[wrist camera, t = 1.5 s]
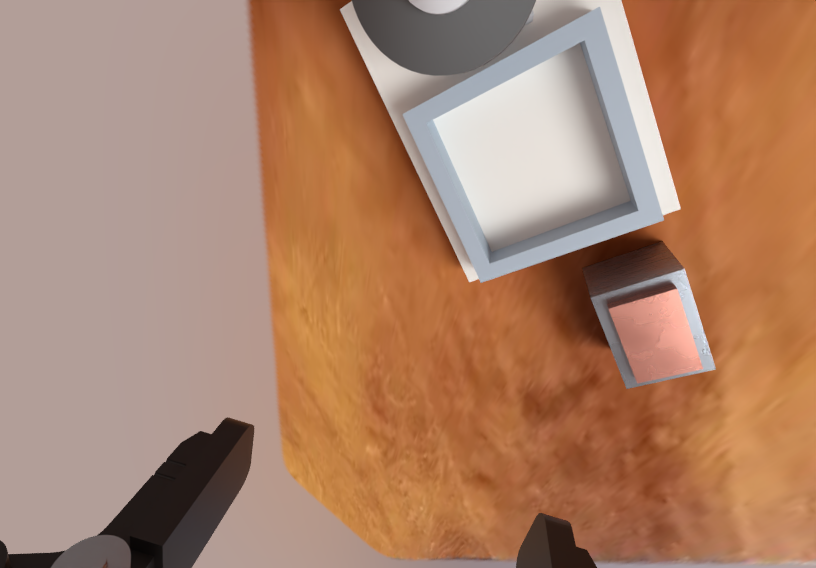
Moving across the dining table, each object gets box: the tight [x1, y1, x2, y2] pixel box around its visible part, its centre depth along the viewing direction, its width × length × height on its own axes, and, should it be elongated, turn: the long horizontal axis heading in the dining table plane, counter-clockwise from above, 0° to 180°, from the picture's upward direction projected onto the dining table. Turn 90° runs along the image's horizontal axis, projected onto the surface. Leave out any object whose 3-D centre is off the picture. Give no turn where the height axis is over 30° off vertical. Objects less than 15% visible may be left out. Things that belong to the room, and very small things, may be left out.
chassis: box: [340, 0, 681, 283], centre depth 24 cm, size 13×18×6 cm
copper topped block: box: [582, 241, 716, 389], centre depth 27 cm, size 5×7×5 cm
